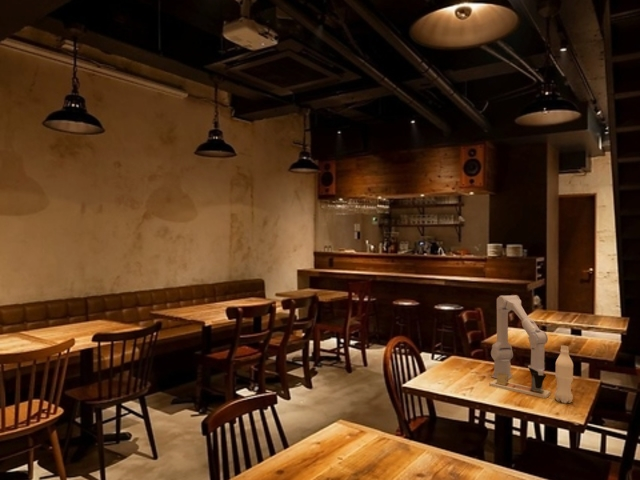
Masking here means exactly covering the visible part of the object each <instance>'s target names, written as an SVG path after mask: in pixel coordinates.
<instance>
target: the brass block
mask: <svg viewBox="0 0 640 480" xmlns="http://www.w3.org/2000/svg"><path fill="white" fill-rule="evenodd" d="M496 380H497V384H498V385H503V386H507V385H508V382H509V379H508V374H505V373H498V374H497V378H496Z"/></svg>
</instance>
